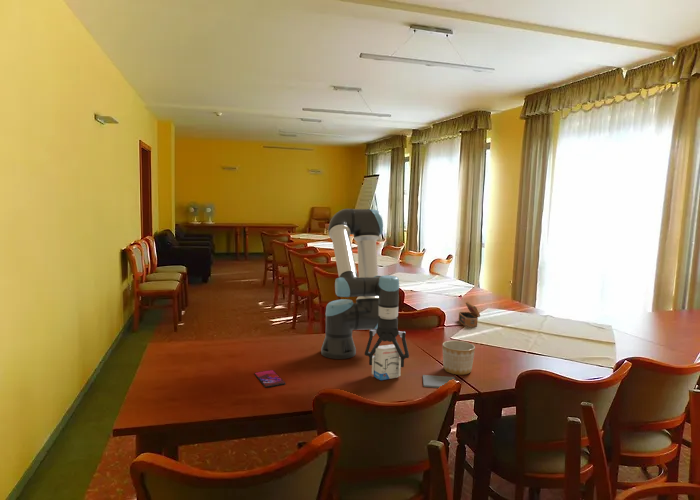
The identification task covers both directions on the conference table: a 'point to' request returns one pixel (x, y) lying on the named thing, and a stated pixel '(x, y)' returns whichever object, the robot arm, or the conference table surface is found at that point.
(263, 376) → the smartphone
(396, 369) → the ink box
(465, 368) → the planter
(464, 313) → the box
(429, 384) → the mat
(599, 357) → the conference table surface
